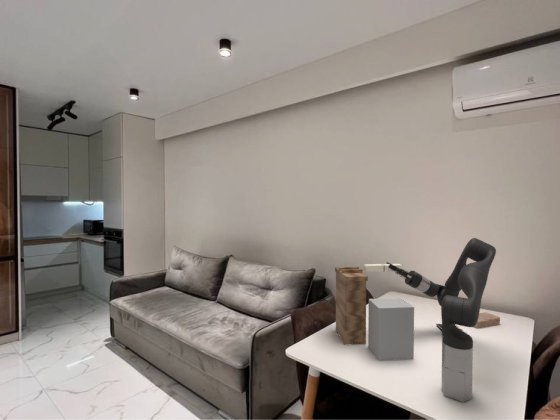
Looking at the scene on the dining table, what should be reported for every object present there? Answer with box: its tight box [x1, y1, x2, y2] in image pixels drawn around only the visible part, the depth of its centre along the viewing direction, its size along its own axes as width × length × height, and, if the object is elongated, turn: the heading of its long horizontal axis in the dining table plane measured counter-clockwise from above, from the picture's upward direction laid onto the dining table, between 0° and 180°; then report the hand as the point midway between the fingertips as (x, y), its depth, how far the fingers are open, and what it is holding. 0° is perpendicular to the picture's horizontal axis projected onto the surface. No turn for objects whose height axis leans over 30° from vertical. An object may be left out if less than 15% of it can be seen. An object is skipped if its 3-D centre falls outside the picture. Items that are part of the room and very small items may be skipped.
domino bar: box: [363, 263, 403, 273], centre depth 150 cm, size 18×3×3 cm, turn 95°
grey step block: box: [367, 297, 415, 362], centre depth 135 cm, size 15×12×22 cm
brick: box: [473, 311, 501, 329], centre depth 166 cm, size 16×8×5 cm, turn 107°
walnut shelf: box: [334, 266, 369, 345], centre depth 151 cm, size 10×20×34 cm, turn 4°
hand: (388, 264), depth 150 cm, fingers closed on domino bar, 3 cm apart
